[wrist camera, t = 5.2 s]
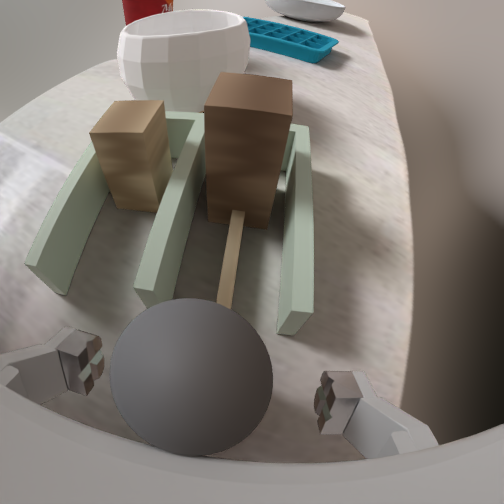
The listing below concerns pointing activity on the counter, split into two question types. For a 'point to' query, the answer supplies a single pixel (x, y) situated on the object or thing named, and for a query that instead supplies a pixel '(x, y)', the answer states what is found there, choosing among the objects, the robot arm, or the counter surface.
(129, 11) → the paper cup
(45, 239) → the lane rack
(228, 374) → the tethered walnut block
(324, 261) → the counter surface
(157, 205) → the oak block
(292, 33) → the ice cube tray
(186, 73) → the white deep bowl
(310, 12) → the serving bowl
